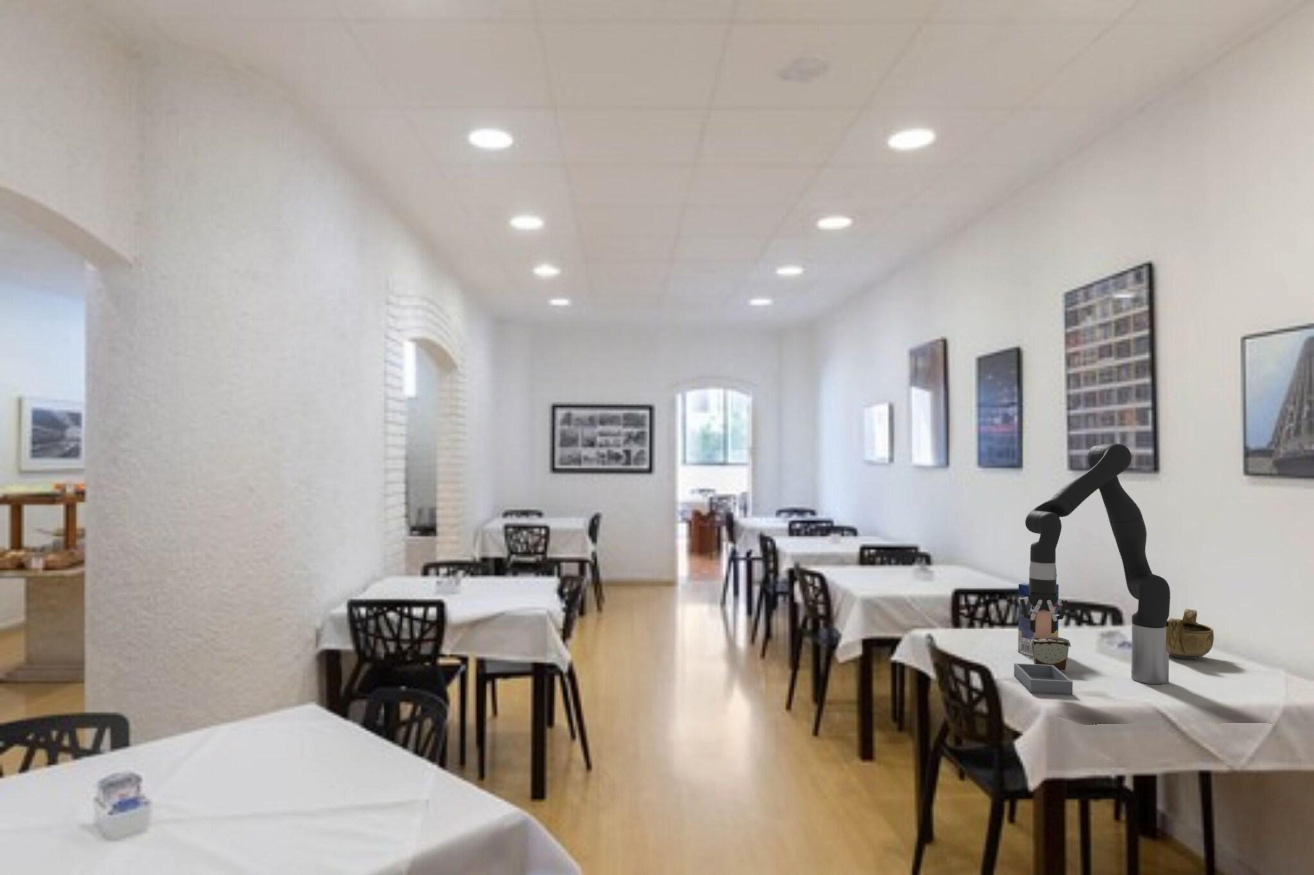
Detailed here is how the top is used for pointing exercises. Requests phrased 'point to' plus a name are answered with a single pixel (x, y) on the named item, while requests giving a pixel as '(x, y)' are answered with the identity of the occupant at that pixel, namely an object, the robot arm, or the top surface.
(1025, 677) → the bin
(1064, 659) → the food container
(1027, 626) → the juice carton
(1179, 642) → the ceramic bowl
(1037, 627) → the brown upright block
